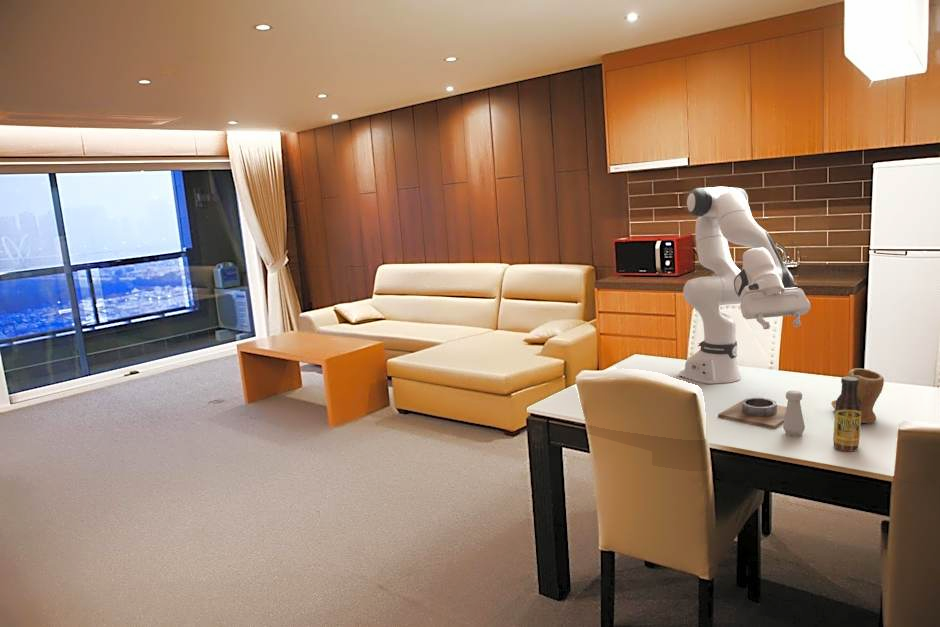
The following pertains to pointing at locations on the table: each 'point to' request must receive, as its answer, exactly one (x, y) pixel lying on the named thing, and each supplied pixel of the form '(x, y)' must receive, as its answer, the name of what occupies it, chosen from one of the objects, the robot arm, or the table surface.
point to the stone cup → (866, 391)
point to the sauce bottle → (847, 416)
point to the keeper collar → (759, 407)
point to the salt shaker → (793, 414)
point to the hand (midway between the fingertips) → (782, 326)
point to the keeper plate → (769, 422)
